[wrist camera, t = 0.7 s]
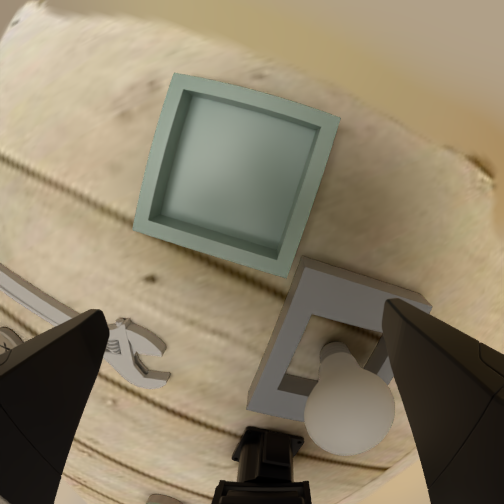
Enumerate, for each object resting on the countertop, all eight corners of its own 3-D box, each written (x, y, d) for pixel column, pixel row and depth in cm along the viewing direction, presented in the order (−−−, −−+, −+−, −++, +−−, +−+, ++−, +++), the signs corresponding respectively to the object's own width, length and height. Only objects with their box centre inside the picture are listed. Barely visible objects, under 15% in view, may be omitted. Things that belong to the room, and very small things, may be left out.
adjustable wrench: (-13, 270, 27) (-22, 275, 25) (-8, 222, 25) (-19, 226, 24) (161, 387, 29) (156, 398, 27) (182, 343, 27) (177, 353, 25)
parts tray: (285, 264, 24) (286, 278, 21) (148, 221, 23) (132, 230, 21) (332, 123, 21) (340, 117, 18) (185, 82, 20) (173, 72, 17)
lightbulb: (317, 308, 25) (341, 403, 14) (379, 330, 25) (425, 419, 14) (286, 364, 26) (289, 465, 16) (345, 382, 27) (369, 475, 16)
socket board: (352, 412, 28) (356, 429, 25) (248, 391, 27) (246, 409, 25) (420, 294, 24) (432, 306, 21) (302, 255, 23) (305, 266, 21)
